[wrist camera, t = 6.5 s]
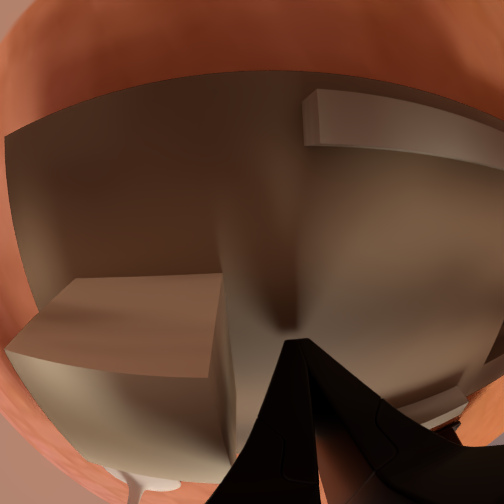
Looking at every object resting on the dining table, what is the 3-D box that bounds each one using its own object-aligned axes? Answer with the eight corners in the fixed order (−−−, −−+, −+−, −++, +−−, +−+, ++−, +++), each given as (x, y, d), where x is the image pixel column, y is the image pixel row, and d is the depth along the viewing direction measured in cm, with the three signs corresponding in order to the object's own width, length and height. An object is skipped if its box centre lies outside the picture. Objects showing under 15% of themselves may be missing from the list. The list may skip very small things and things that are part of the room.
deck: (521, 333, 14) (546, 358, 10) (126, 406, 14) (108, 461, 10) (557, 164, 9) (594, 175, 5) (49, 135, 8) (-24, 139, 4)
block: (236, 391, 9) (236, 483, 6) (117, 385, 9) (87, 461, 5) (222, 272, 8) (207, 377, 4) (75, 278, 8) (3, 349, 4)
